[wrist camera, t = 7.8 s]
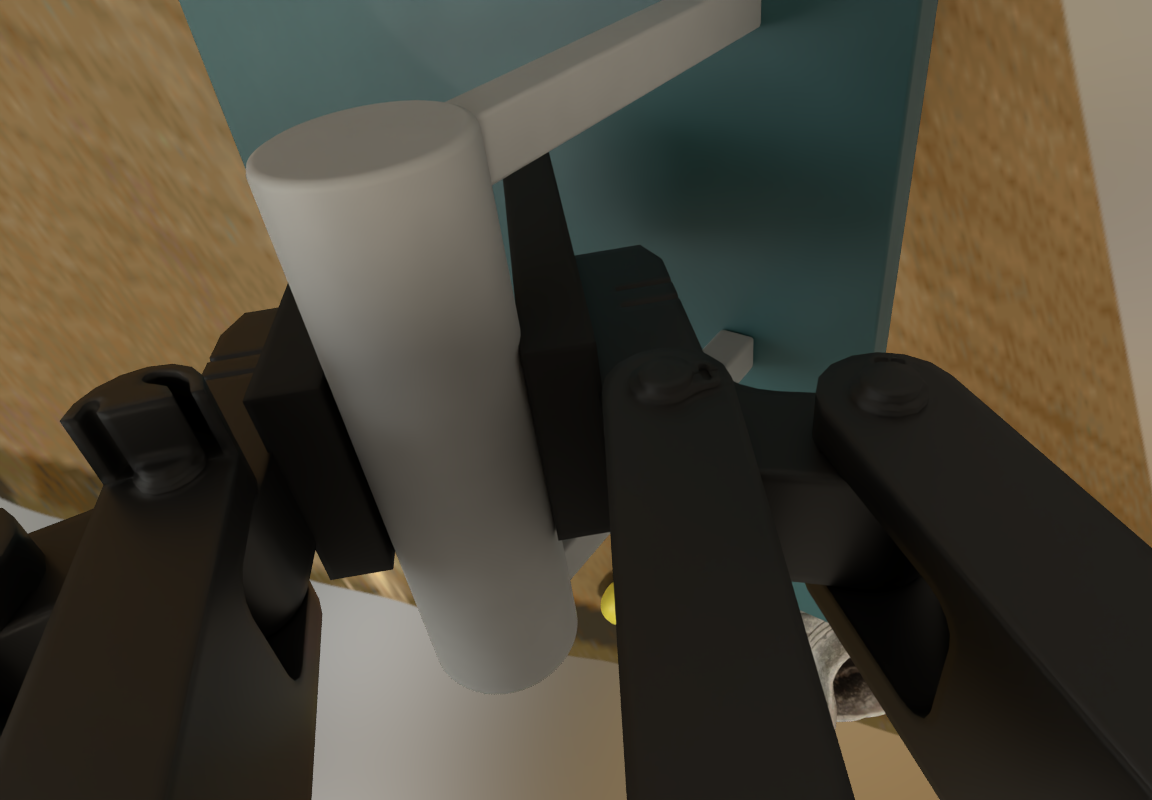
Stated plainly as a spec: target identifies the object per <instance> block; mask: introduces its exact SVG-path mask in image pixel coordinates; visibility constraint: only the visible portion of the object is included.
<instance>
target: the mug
mask: <svg viewBox="0 0 1152 800" xmlns="http://www.w3.org/2000/svg"><path fill="white" fill-rule="evenodd" d="M800 612H801V616H802V619H803V623H804V626H805V630H806V633H807V636H808V640H809V643H810V647H811V650H812V654H813V657H814V660H815V664H816V667H817V671H818V674H819V678H820V681H821V684H822V688H823V691H824V695H825V698H826V702H827V705H828V708H829V712H830V715H831V719H832V722H833V726H834V729H835V728H836V722H846V721H856V720H860V719H862V718H865V717H875V716H880V715H883V714H885V712H884V710H883V709H882V707H881V706H880V704H879V702H878V701H877V699H876V698H875V696H874V695H873V693H872V691H871V690H870V688H869V687H868V685H867V683H866V682H865V680H864V679H863V677H862V676H861V674H860V672H859V671H858V669H857V668H856V666H855V664H854V663H853V661H852V660H851V658H850V657H849V655H848V653H847V652H846V650H845V649H844V647H843V645H842V644H841V642H840V641H839V639H838V638H837V636H836V634H835V633H834V631H833V630H832V628H831V626H830V625H829V623H827V622H825V621H823V620H821V619H818V618H816V617H814V616H812V615H809V614H807V613H805V612H803V611H800Z"/></svg>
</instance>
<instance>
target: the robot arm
mask: <svg viewBox="0 0 1152 800" xmlns="http://www.w3.org/2000/svg"><path fill="white" fill-rule="evenodd" d="M503 186H504V196H505V206H506V216H507V226H508V236H509V246H510V256H511V266H512V277H513V287H514V297H515V305H516V310H517V315H518V320H519V325H520V333H521V336H520V342H519V347H520V356H521V361H522V366H523V370H524V375H525V380H526V385H527V390H528V395H529V400H530V405H531V409H532V414H533V419H534V424H535V429H536V434H537V439H538V444H539V449H540V453H541V458H542V463H543V468H544V473H545V478H546V483H547V488H548V492H549V497H550V502H551V507H552V512H553V517H554V522H555V527H556V532H557V536H558V541H560V540H566V539H572V538H578V537H584V536H589V535H595V534H601V533H607V532H610V534H611V550H612V566H613V583H614V599H615V615H616V631H617V647H618V663H619V679H620V694H621V695H620V696H621V711H622V727H623V743H624V759H625V776H626V793H627V800H855V798H854V794H853V791H852V788H851V784H850V781H849V777H848V774H847V770H846V767H845V763H844V760H843V757H842V753H841V750H840V747H839V743H838V739H837V736H836V733H835V729H834V726H833V722H832V719H831V715H830V712H829V708H828V705H827V702H826V698H825V695H824V691H823V688H822V684H821V681H820V678H819V674H818V671H817V667H816V664H815V660H814V657H813V654H812V650H811V647H810V643H809V640H808V636H807V633H806V630H805V626H804V623H803V619H802V616H801V612H800V609H799V606H798V602H797V599H796V595H795V592H794V588H793V585H792V582H800V583H805V585H806V588H807V590H808V592H809V593H810V595H811V596H812V598H813V600H814V601H815V603H816V604H817V606H818V608H819V609H820V611H821V612H822V614H823V615H824V617H825V619H826V620H827V622H828V623H829V625H830V626H831V628H832V630H833V631H834V633H835V634H836V636H837V638H838V639H839V641H840V642H841V644H842V645H843V647H844V649H845V650H846V652H847V653H848V655H849V657H850V658H851V660H852V661H853V663H854V664H855V666H856V668H857V669H858V671H859V672H860V674H861V676H862V677H863V679H864V680H865V682H866V683H867V685H868V687H869V688H870V690H871V691H872V693H873V695H874V696H875V698H876V699H877V701H878V702H879V704H880V706H881V707H882V709H883V710H884V712H885V714H886V715H887V717H888V718H889V720H890V721H891V723H892V725H893V726H894V728H895V729H896V731H897V733H898V734H899V736H900V737H901V739H902V740H903V742H904V744H905V745H906V747H907V748H908V750H909V751H910V753H911V755H912V756H913V758H914V759H915V761H916V763H917V764H918V766H919V767H920V769H921V770H922V772H923V774H924V775H925V777H926V778H927V780H928V781H929V783H930V785H931V786H932V788H933V789H934V791H935V793H936V794H937V796H938V797H939V799H940V800H1152V548H1151V547H1150V546H1149V545H1148V544H1146V543H1145V542H1144V541H1143V540H1142V539H1141V538H1140V537H1138V536H1137V535H1136V534H1135V533H1134V532H1133V531H1131V530H1130V529H1129V528H1128V527H1127V526H1126V525H1125V524H1123V523H1122V522H1121V521H1120V520H1119V519H1118V518H1116V517H1115V516H1114V515H1113V514H1112V513H1111V512H1109V511H1108V510H1107V509H1106V508H1105V507H1104V506H1103V505H1101V504H1100V503H1099V502H1098V501H1097V500H1096V499H1094V498H1093V497H1092V496H1091V495H1090V494H1089V493H1087V492H1086V491H1085V490H1084V489H1083V488H1082V487H1081V486H1079V485H1078V484H1077V483H1076V482H1075V481H1074V480H1072V479H1071V478H1070V477H1069V476H1068V475H1067V474H1065V473H1064V472H1063V471H1062V470H1061V469H1060V468H1059V467H1057V466H1056V465H1055V464H1054V463H1053V462H1052V461H1050V460H1049V459H1048V458H1047V457H1046V456H1045V455H1044V454H1042V453H1041V452H1040V451H1039V450H1038V449H1037V448H1035V447H1034V446H1033V445H1032V444H1031V443H1030V442H1028V441H1027V440H1026V439H1025V438H1024V437H1023V436H1022V435H1020V434H1019V433H1018V432H1017V431H1016V430H1015V429H1013V428H1012V427H1011V426H1010V425H1009V424H1008V423H1006V422H1005V421H1004V420H1003V419H1002V418H1001V417H1000V416H998V415H997V414H996V413H995V412H994V411H993V410H991V409H990V408H989V407H988V406H987V405H986V404H984V403H983V402H982V401H981V400H980V399H979V398H978V397H976V396H975V395H974V394H973V393H972V392H971V391H969V390H968V389H967V388H966V387H965V386H964V385H963V384H961V383H960V382H959V381H958V380H957V379H956V378H954V377H953V376H952V375H951V374H949V373H947V372H946V371H944V370H942V369H941V368H939V367H937V366H936V365H934V364H933V363H931V362H928V361H924V360H921V359H918V358H915V357H911V356H908V355H905V354H894V353H881V352H875V353H867V354H860V355H852V356H849V357H847V358H845V359H842V360H840V361H838V362H835V363H833V364H831V365H830V366H829V367H828V368H827V369H826V370H825V371H824V372H823V373H822V374H821V375H820V376H819V377H818V382H817V388H816V393H812V392H789V391H773V390H764V389H757V388H753V387H749V386H746V385H742V384H739V383H737V382H735V381H733V379H732V377H731V375H730V374H729V372H728V370H727V369H726V367H725V366H724V364H723V363H721V362H720V361H718V360H716V359H715V358H713V357H711V356H710V355H708V354H706V353H704V352H703V350H702V347H701V345H700V343H699V341H698V338H697V336H696V334H695V332H694V330H693V327H692V325H691V323H690V321H689V318H688V316H687V314H686V312H685V309H684V307H683V305H682V303H681V300H680V298H678V294H677V291H676V289H675V287H674V285H673V282H671V278H670V276H669V273H668V271H667V269H666V267H665V264H664V262H663V260H662V259H661V258H660V257H658V256H657V255H655V254H654V253H652V252H651V251H649V250H648V249H646V248H644V247H643V246H641V245H635V246H629V247H623V248H617V249H611V250H605V251H599V252H593V253H587V254H581V255H574V251H573V247H572V243H571V239H570V235H569V231H568V227H567V223H566V219H565V215H564V211H563V207H562V202H561V198H560V194H559V190H558V186H557V182H556V178H555V174H554V170H553V166H552V162H551V158H550V154H549V152H548V153H546V154H544V155H542V156H541V157H539V158H537V159H536V160H534V161H532V162H531V163H529V164H527V165H526V166H524V167H522V168H521V169H519V170H517V171H516V172H514V173H512V174H510V175H509V176H507V177H505V178H504V179H503ZM210 361H211V362H209V363H207V365H206V367H205V369H204V371H203V373H202V375H201V374H200V373H199V372H198V371H196V370H195V369H194V368H193V367H189V366H183V365H176V364H168V365H159V366H151V367H146V368H143V369H139V370H136V371H133V372H130V373H127V374H123V375H120V376H118V377H116V378H114V379H112V380H110V381H108V382H106V383H104V384H102V385H100V386H98V387H96V388H95V389H93V390H92V391H90V392H89V393H88V394H86V395H85V396H84V397H82V398H81V399H80V400H78V401H77V402H76V403H74V404H73V405H72V406H71V408H70V409H69V410H68V411H67V413H66V414H65V415H64V416H63V418H62V419H61V420H60V422H61V424H62V425H63V427H64V428H65V430H66V431H67V433H68V434H69V435H70V437H71V438H72V440H73V441H74V443H75V444H76V446H77V447H78V448H79V450H80V451H81V453H82V454H83V456H84V457H85V459H86V460H87V461H88V463H89V464H90V466H91V467H92V469H93V470H94V472H95V473H96V474H97V476H98V477H99V479H100V480H101V482H102V483H103V488H102V490H101V492H100V495H99V497H98V500H97V502H96V505H95V507H94V509H91V510H89V511H87V512H84V513H82V514H79V515H76V516H74V517H71V518H68V519H66V520H63V521H60V522H58V523H55V524H52V525H50V526H47V527H45V528H42V529H39V530H37V531H34V532H31V533H29V534H27V532H26V531H25V530H24V529H23V527H22V526H21V525H20V524H19V523H18V521H17V520H16V519H15V518H14V517H13V516H12V515H11V514H9V513H8V512H7V511H6V510H4V509H3V508H0V800H311V797H312V781H313V764H314V747H315V730H316V713H317V695H318V677H319V661H320V643H321V627H322V611H321V606H320V601H319V598H318V596H317V594H316V592H315V590H314V588H313V586H312V584H311V582H310V581H309V578H310V574H311V569H312V564H313V559H314V554H315V550H316V552H317V554H318V556H319V558H320V560H321V562H322V564H323V566H324V568H325V570H326V572H327V574H328V576H329V578H330V580H334V579H339V578H345V577H351V576H357V575H363V574H368V573H374V572H380V571H386V570H392V569H393V567H394V556H395V549H394V547H393V544H392V542H391V539H390V537H389V534H388V532H387V529H386V527H385V524H384V522H383V519H382V517H381V514H380V512H379V509H378V507H377V504H376V502H375V499H374V497H373V494H372V492H371V489H370V487H369V484H368V482H367V479H366V477H365V474H364V472H363V469H362V467H361V464H360V462H359V459H358V457H357V454H356V452H355V449H354V447H353V444H352V442H351V439H350V436H349V434H348V431H347V429H346V426H345V424H344V421H343V419H342V416H341V414H340V411H339V409H338V406H337V404H336V401H335V399H334V396H333V394H332V391H331V389H330V386H329V384H328V381H327V379H326V376H325V374H324V371H323V369H322V366H321V364H320V361H319V359H318V356H317V354H316V351H315V349H314V346H313V344H312V341H311V339H310V336H309V334H308V331H307V329H306V326H305V324H304V321H303V319H302V316H301V314H300V311H299V309H298V306H297V304H296V301H295V299H294V296H293V294H292V291H291V288H290V286H289V283H288V284H287V287H286V290H285V292H284V295H283V297H282V300H281V303H280V305H279V308H273V309H267V310H261V311H255V312H249V313H244V314H243V315H242V316H241V317H240V318H239V319H238V320H237V321H236V322H235V323H234V324H232V325H231V326H230V327H229V328H228V329H227V330H226V331H225V332H224V333H223V334H222V335H221V336H220V338H219V340H218V342H217V344H216V346H215V348H214V350H213V352H212V354H211V356H210Z"/></svg>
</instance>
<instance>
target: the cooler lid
mask: <svg viewBox="0 0 1152 800" xmlns="http://www.w3.org/2000/svg"><path fill="white" fill-rule="evenodd" d="M179 2H180V5H181V7H182V10H183V12H184V15H185V17H186V20H187V22H188V25H189V27H190V30H191V32H192V35H193V37H194V40H195V42H196V45H197V47H198V50H199V52H200V55H201V58H202V60H203V63H204V65H205V68H206V70H207V73H208V75H209V78H210V80H211V83H212V85H213V88H214V90H215V93H216V95H217V98H218V100H219V103H220V105H221V108H222V111H223V113H224V116H225V118H226V121H227V123H228V126H229V128H230V131H231V133H232V136H233V138H234V141H235V143H236V146H237V148H238V151H239V153H240V156H241V158H242V161H243V164H244V166H245V169H246V178H247V181H248V183H249V186H250V188H251V191H252V193H253V196H254V198H255V201H256V203H257V206H258V208H259V211H260V213H261V216H262V218H263V221H264V223H265V226H266V228H267V231H268V233H269V236H270V238H271V241H272V243H273V246H274V248H275V251H276V253H277V256H278V258H279V261H280V263H281V266H282V268H283V271H284V273H285V276H286V278H287V281H288V283H289V286H290V288H291V291H292V294H293V296H294V299H295V301H296V304H297V306H298V309H299V311H300V314H301V316H302V319H303V321H304V324H305V326H306V329H307V331H308V334H309V336H310V339H311V341H312V344H313V346H314V349H315V351H316V354H317V356H318V359H319V361H320V364H321V366H322V369H323V371H324V374H325V376H326V379H327V381H328V384H329V386H330V389H331V391H332V394H333V396H334V399H335V401H336V404H337V406H338V409H339V411H340V414H341V416H342V419H343V421H344V424H345V426H346V429H347V431H348V434H349V436H350V439H351V442H352V444H353V447H354V449H355V452H356V454H357V457H358V459H359V462H360V464H361V467H362V469H363V472H364V474H365V477H366V479H367V482H368V484H369V487H370V489H371V492H372V494H373V497H374V499H375V502H376V504H377V507H378V509H379V512H380V514H381V517H382V519H383V522H384V524H385V527H386V529H387V532H388V534H389V537H390V539H391V542H392V544H393V547H394V549H395V552H396V554H397V557H398V559H399V562H400V564H401V567H402V569H403V572H404V574H405V577H406V579H407V582H408V585H409V587H410V590H411V592H412V595H413V597H414V600H415V602H416V605H417V607H418V610H419V612H420V615H421V617H422V619H423V622H424V624H425V627H426V629H427V632H428V635H429V637H430V640H431V642H432V645H433V647H434V650H435V652H436V655H437V657H438V660H439V662H440V664H441V666H442V668H443V669H444V670H445V672H446V673H447V674H448V675H449V676H450V677H451V678H452V679H453V680H454V681H456V682H457V683H459V684H460V685H462V686H464V687H466V688H468V689H471V690H473V691H476V692H480V693H484V694H508V693H514V692H517V691H521V690H524V689H526V688H529V687H532V686H534V685H535V684H537V683H539V682H541V681H542V680H544V679H545V678H547V677H548V676H549V675H551V674H552V673H553V672H554V671H555V670H556V669H557V668H558V667H559V666H560V665H561V664H562V662H563V661H564V659H565V658H566V657H567V655H568V653H569V651H570V649H571V647H572V645H573V643H574V640H575V637H576V632H577V613H576V608H575V603H574V598H573V593H572V587H571V582H570V580H571V579H572V577H573V576H574V575H575V574H576V573H577V572H578V570H579V569H580V568H581V567H582V566H583V564H584V563H585V562H586V561H587V560H588V559H589V557H590V556H591V555H592V554H593V553H594V552H595V550H596V549H597V548H598V547H599V546H600V545H601V543H602V542H603V541H604V540H605V539H606V538H607V536H608V535H609V534H610V532H607V533H601V534H595V535H589V536H584V537H578V538H572V539H566V540H560V541H558V536H557V532H556V527H555V522H554V517H553V512H552V507H551V502H550V497H549V492H548V488H547V483H546V478H545V473H544V468H543V463H542V458H541V453H540V449H539V444H538V439H537V434H536V429H535V424H534V419H533V414H532V409H531V405H530V400H529V395H528V390H527V385H526V380H525V375H524V370H523V366H522V361H521V356H520V347H519V342H520V336H521V333H520V325H519V320H518V315H517V310H516V305H515V297H514V287H513V277H512V266H511V256H510V246H509V236H508V226H507V216H506V206H505V196H504V186H503V179H504V178H505V177H507V176H509V175H510V174H512V173H514V172H516V171H517V170H519V169H521V168H522V167H524V166H526V165H527V164H529V163H531V162H532V161H534V160H536V159H537V158H539V157H541V156H542V155H544V154H546V153H548V152H549V154H550V158H551V162H552V166H553V170H554V174H555V178H556V182H557V186H558V190H559V194H560V198H561V202H562V207H563V211H564V215H565V219H566V223H567V227H568V231H569V235H570V239H571V243H572V247H573V251H574V255H581V254H587V253H593V252H599V251H605V250H611V249H617V248H623V247H629V246H635V245H641V246H643V247H644V248H646V249H648V250H649V251H651V252H652V253H654V254H655V255H657V256H658V257H660V258H661V259H662V260H663V262H664V264H665V267H666V269H667V271H668V273H669V276H670V278H671V282H673V285H674V287H675V289H676V291H677V294H678V298H680V300H681V303H682V305H683V307H684V309H685V312H686V314H687V316H688V318H689V321H690V323H691V325H692V327H693V330H694V332H695V334H696V336H697V338H698V341H699V343H700V345H701V347H702V350H703V352H704V353H706V354H708V355H710V356H711V357H713V358H715V359H716V360H718V361H720V362H721V363H723V364H724V366H725V367H726V369H727V370H728V372H729V374H730V375H731V377H732V379H733V381H735V382H737V383H739V384H742V385H746V386H749V387H753V388H757V389H764V390H773V391H789V392H812V393H816V388H817V382H818V377H819V376H820V375H821V374H822V373H823V372H824V371H825V370H826V369H827V368H828V367H829V366H830V365H831V364H833V363H835V362H838V361H840V360H842V359H845V358H847V357H849V356H852V355H860V354H867V353H875V352H881V353H886V347H887V340H888V334H889V327H890V320H891V314H892V307H893V300H894V293H895V287H896V280H897V273H898V266H899V260H900V253H901V246H902V239H903V233H904V226H905V219H906V212H907V206H908V199H909V192H910V186H911V179H912V172H913V165H914V159H915V152H916V145H917V138H918V132H919V125H920V118H921V111H922V105H923V98H924V91H925V85H926V78H927V71H928V64H929V58H930V51H931V44H932V37H933V31H934V24H935V17H936V10H937V4H938V0H179ZM792 585H793V588H794V592H795V595H796V599H797V602H798V606H799V609H800V611H803V612H805V613H807V614H809V615H812V616H814V617H816V618H818V619H821V620H823V621H825V622H827V620H826V619H825V617H824V615H823V614H822V612H821V611H820V609H819V608H818V606H817V604H816V603H815V601H814V600H813V598H812V596H811V595H810V593H809V592H808V590H807V588H806V585H805V583H800V582H792ZM827 623H828V622H827Z"/></svg>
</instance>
